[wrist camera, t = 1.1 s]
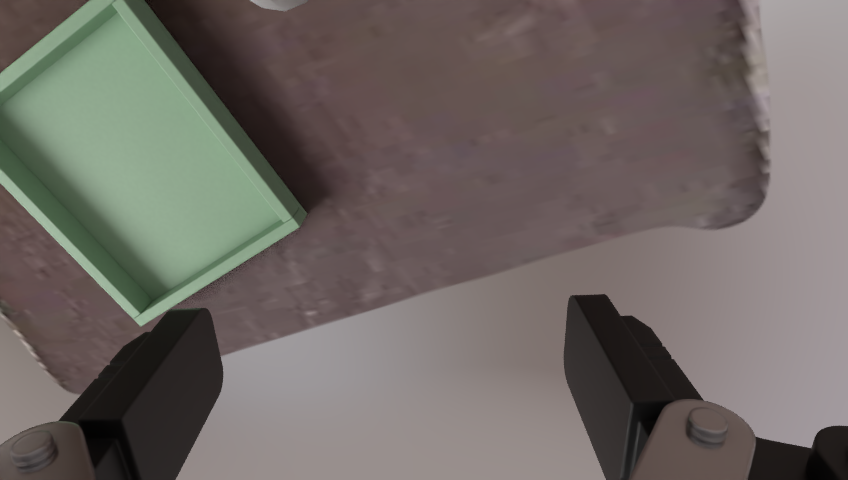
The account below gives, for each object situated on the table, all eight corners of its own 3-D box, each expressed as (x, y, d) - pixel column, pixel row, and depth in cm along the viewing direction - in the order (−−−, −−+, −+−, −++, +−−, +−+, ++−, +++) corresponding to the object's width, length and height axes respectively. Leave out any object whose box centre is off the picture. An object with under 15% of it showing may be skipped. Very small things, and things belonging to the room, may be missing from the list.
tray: (-28, 114, 36) (-61, 121, 33) (133, -16, 33) (110, -18, 30) (156, 309, 42) (140, 327, 39) (307, 213, 39) (300, 227, 36)
